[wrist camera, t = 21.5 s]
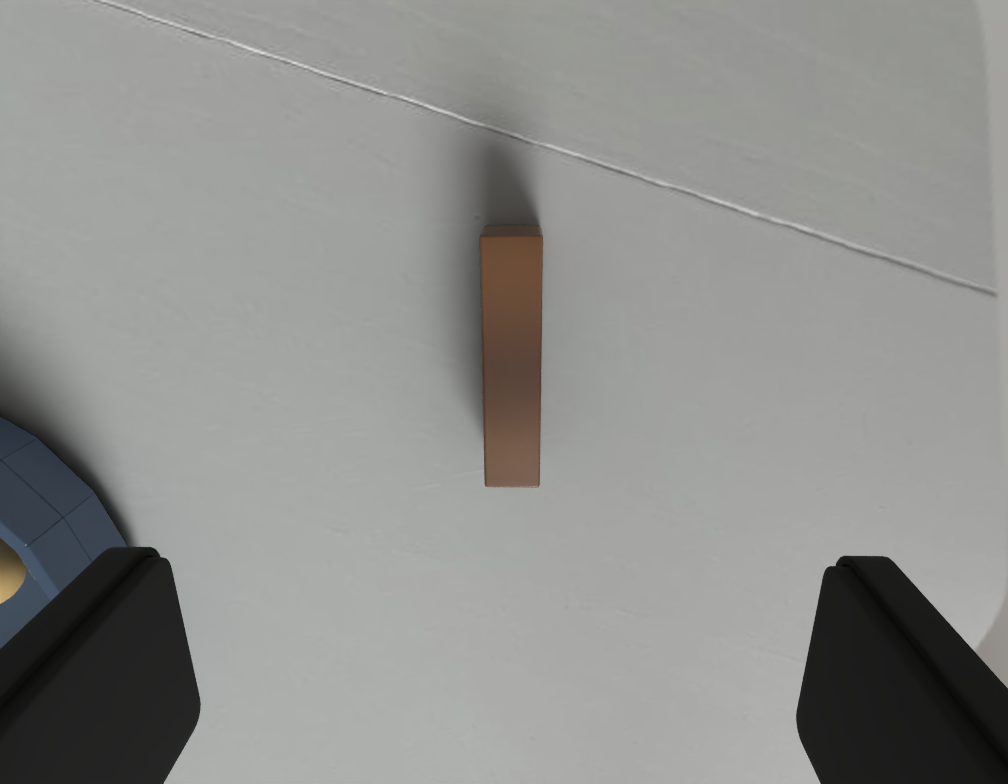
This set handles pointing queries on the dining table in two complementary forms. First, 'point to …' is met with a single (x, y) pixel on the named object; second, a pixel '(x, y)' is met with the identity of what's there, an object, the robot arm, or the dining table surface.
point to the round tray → (45, 524)
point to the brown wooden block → (511, 353)
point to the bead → (10, 571)
